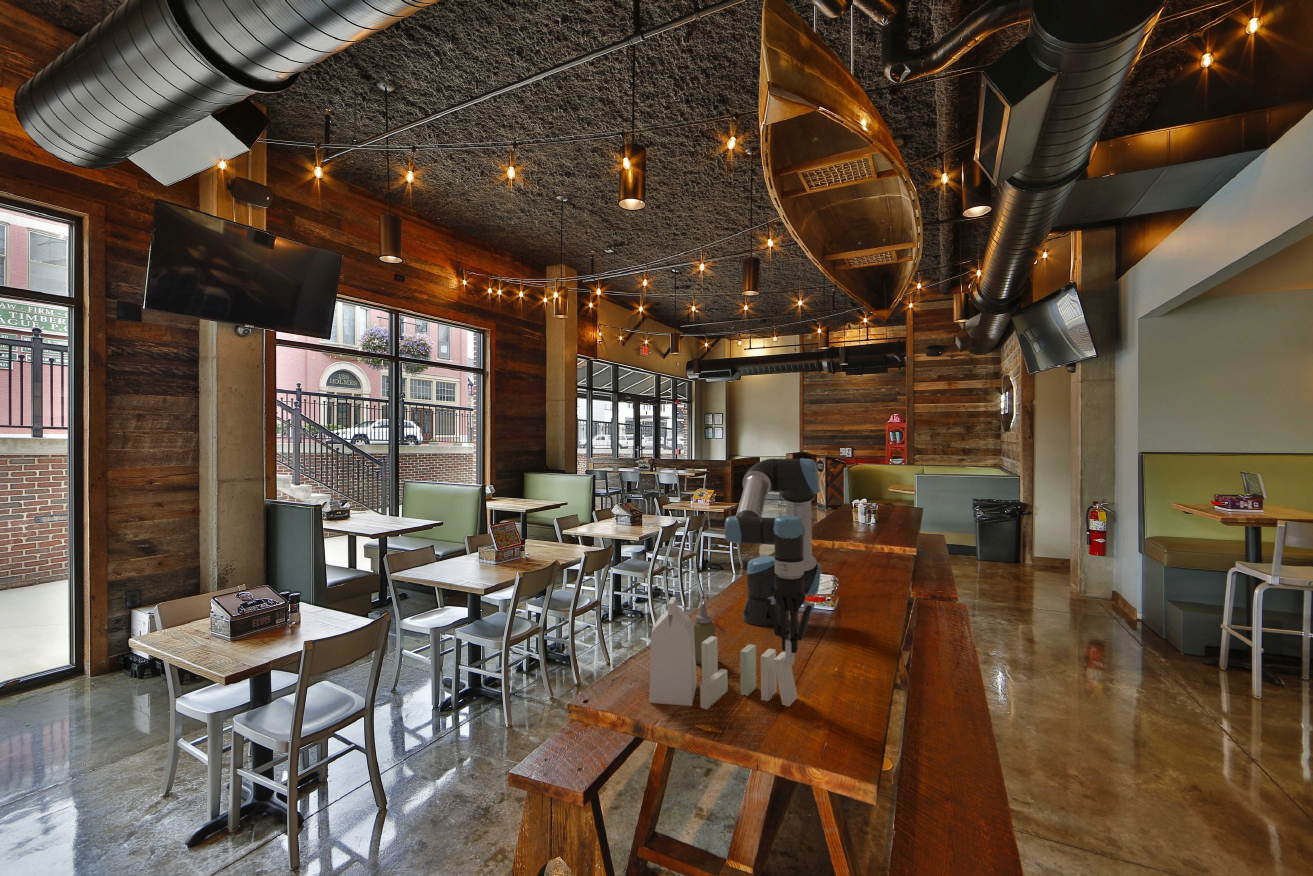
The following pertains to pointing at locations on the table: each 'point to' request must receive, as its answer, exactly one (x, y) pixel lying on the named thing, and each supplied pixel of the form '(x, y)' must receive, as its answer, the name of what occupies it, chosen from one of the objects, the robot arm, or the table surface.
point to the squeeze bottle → (702, 631)
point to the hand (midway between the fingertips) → (790, 663)
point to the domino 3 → (748, 669)
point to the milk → (673, 658)
